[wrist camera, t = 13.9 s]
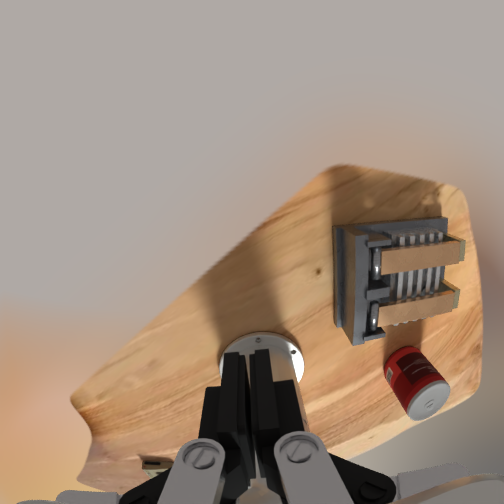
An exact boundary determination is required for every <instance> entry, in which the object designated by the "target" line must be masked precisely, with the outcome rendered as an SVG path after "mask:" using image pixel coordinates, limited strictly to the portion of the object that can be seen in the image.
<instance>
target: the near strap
mask: <svg viewBox="0 0 504 504" xmlns="http://www.w3.org/2000/svg"><path fill="white" fill-rule="evenodd" d="M459 254H460V242H458V241H448V242H440V243H431V244H422V245H413V246H404V247H395V248H386V249H381V246H377V247H371V279H373V280H379V279H380V278H381V275H384V274H392V273H399V272H406V271H413V270H419V269H426V268H432V267H439V266H445V265H451V264H457V263H459Z"/></svg>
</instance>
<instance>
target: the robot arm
mask: <svg viewBox="0 0 504 504" xmlns="http://www.w3.org/2000/svg"><path fill="white" fill-rule="evenodd" d="M303 372H304V359H303V356H302V353H301V351H300V349H299V347H298V346H297V345H296V344H295V343H294V342H293V341H291V340H290V339H289V338H287V337H285V336H282V335H280V334H276V333H271V332H255V333H251V334H247V335H244V336H242V337H239V338H238V339H236V340H234V341H233V342H232V343H231V344H230V345H228V346H227V348H226V349H225V350H224V352H223V354H222V356H221V358H220V364H219V373H220V377H221V386H215V387H207V388H206V391H205V397H204V403H203V410H202V416H201V423H200V430H199V436H198V439H195V440H191V441H189V442H187V443H186V444H184V445H183V446H182V447H181V448H180V450H179V451H178V454H177V456H176V459H175V461H174V464H173V466H172V467H170V468H169V469H167V470H165V471H164V472H162V473H160V474H159V475H157V476H155V477H153V478H152V479H150V480H148V481H146V482H144V483H143V484H141V485H139V486H137V487H135V488H133V489H131V490H130V491H128V492H126V493H125V494H124V495H118V493H117V492H89V491H75V490H67V491H64V492H61V493H60V494H59V495H58V496H57V498H56V501H48V500H28V501H22V502H19V503H17V504H504V476H503V475H500V474H479V475H472V476H470V475H469V472H468V470H467V468H466V467H465V466H463V465H462V464H459V463H448V464H444V465H440V466H435V467H431V468H426V469H421V470H416V471H410V472H404V473H399V474H398V475H397V476H392V477H388V476H386V475H384V474H381V473H378V472H376V471H373V470H370V469H368V468H365V467H362V466H359V465H357V464H355V463H352V462H350V461H347V460H345V459H342V458H340V457H338V456H335V455H333V454H331V453H328V452H327V450H326V448H325V446H324V443H323V442H322V440H321V439H320V438H319V437H318V436H316V435H315V434H313V433H310V429H309V425H308V421H307V416H306V412H305V408H304V404H303V400H302V396H301V392H300V387H299V383H298V382H299V381H300V379H301V377H302V375H303Z"/></svg>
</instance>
